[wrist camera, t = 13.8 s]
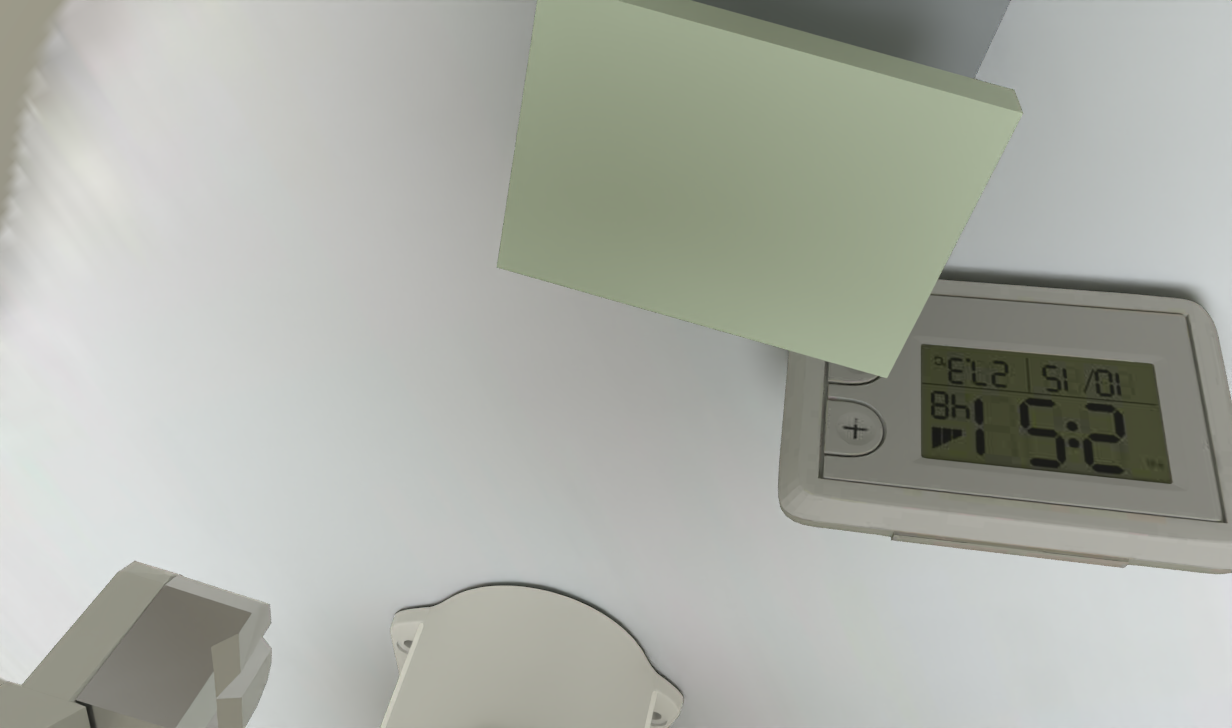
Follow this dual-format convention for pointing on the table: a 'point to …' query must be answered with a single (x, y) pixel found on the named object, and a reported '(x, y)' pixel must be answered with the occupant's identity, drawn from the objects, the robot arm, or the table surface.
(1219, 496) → the digital clock
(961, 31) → the nook
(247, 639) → the robot arm
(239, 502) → the table surface
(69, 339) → the table surface
